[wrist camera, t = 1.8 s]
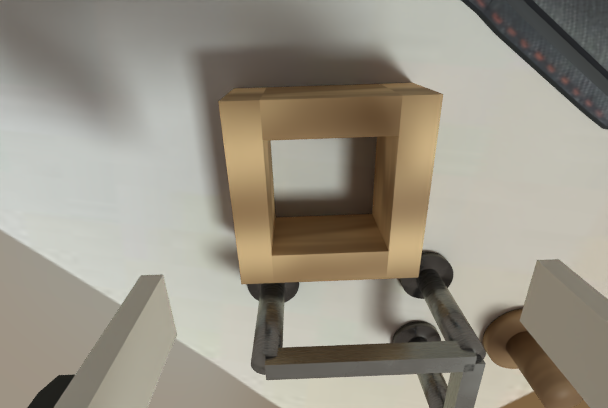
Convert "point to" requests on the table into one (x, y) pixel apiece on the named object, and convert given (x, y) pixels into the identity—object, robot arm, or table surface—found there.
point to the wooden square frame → (331, 228)
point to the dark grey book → (558, 45)
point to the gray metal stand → (382, 357)
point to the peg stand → (528, 360)
